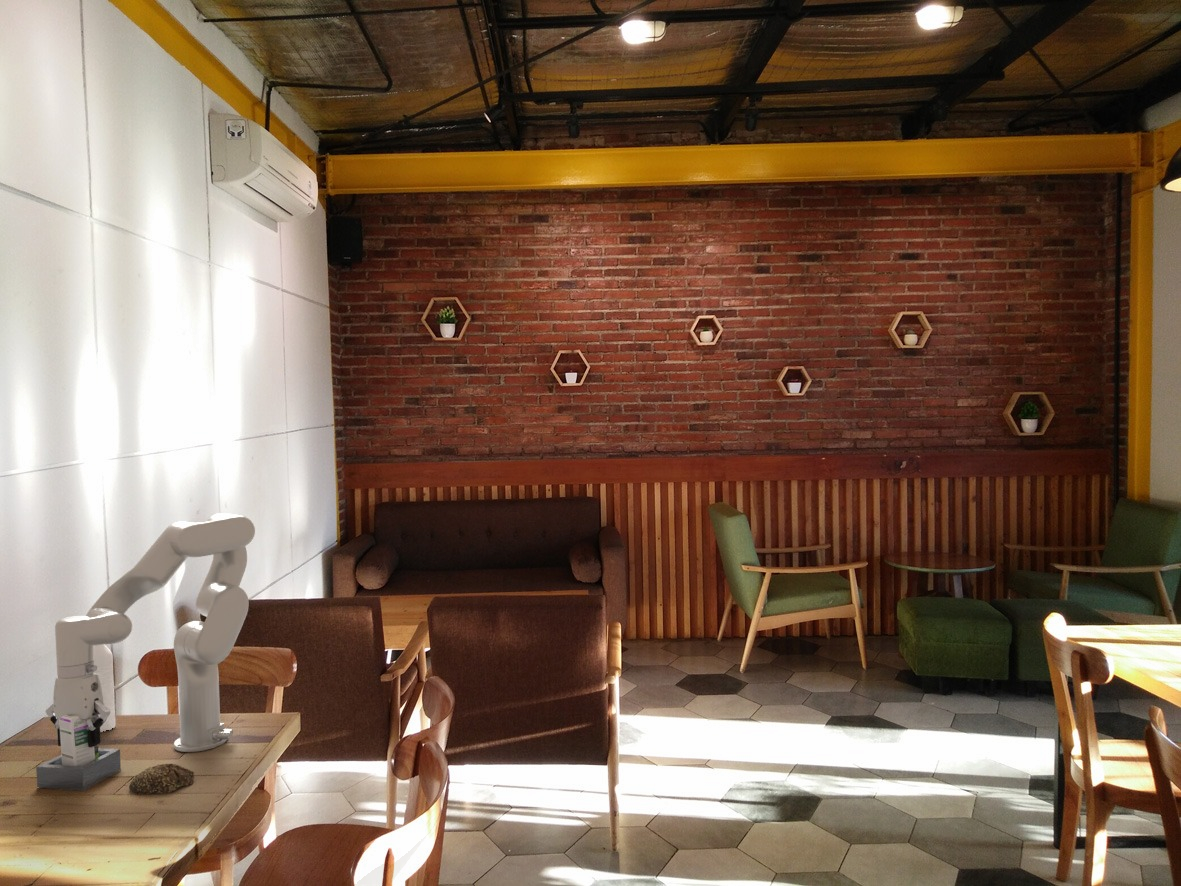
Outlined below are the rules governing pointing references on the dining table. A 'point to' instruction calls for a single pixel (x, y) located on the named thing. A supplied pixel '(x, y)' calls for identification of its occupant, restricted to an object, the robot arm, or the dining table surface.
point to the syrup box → (75, 741)
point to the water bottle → (106, 682)
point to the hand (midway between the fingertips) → (79, 744)
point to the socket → (78, 771)
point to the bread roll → (161, 779)
